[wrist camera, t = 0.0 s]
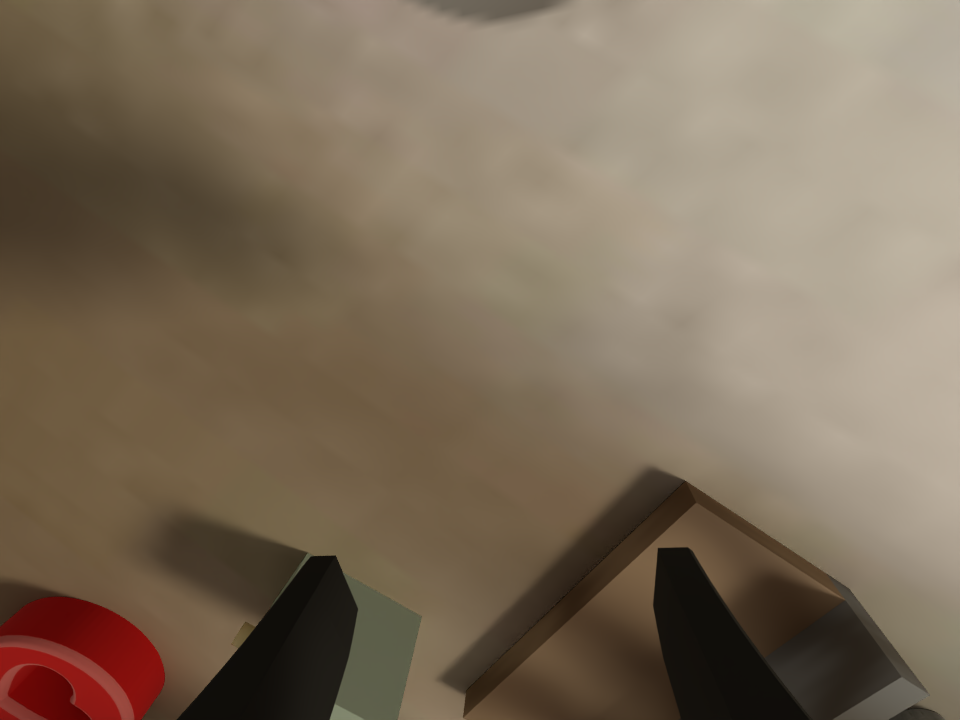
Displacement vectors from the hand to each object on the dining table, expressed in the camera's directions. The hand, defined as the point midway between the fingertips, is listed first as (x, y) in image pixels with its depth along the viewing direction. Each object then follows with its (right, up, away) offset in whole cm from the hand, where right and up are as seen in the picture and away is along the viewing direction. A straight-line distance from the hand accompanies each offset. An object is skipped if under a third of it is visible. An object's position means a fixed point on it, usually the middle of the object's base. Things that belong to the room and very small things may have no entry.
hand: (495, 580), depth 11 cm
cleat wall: (+8, -10, +15) cm, 20 cm away
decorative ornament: (-24, -13, +19) cm, 34 cm away
